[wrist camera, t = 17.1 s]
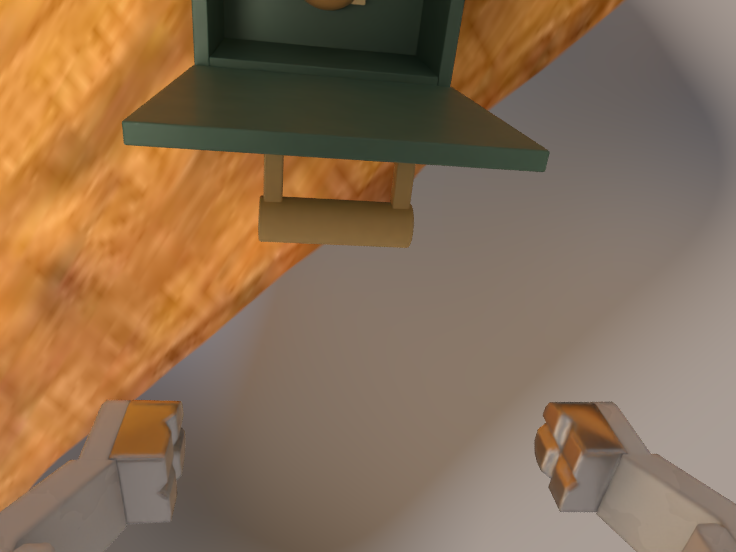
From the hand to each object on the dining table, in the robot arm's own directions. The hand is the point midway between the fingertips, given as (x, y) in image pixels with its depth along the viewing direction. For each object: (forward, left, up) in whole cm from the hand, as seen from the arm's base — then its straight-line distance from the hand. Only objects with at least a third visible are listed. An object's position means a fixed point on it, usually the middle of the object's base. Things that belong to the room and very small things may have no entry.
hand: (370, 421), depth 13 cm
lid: (-3, 0, -17) cm, 17 cm away
